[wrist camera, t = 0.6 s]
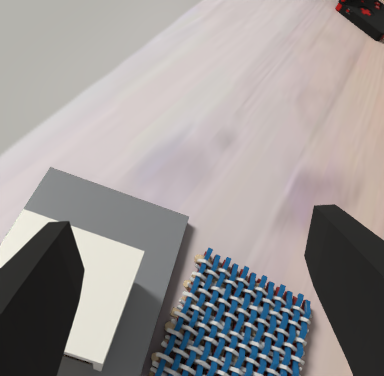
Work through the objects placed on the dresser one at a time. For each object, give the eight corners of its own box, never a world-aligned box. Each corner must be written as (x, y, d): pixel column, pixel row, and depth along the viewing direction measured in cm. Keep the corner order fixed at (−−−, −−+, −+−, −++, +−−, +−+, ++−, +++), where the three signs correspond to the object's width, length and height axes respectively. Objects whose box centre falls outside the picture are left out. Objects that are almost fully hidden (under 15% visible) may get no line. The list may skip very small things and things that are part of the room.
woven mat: (136, 385, 22) (139, 384, 21) (196, 251, 28) (202, 242, 27) (277, 458, 22) (292, 463, 21) (308, 307, 28) (321, 302, 27)
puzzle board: (101, 493, 19) (102, 498, 18) (-111, 429, 18) (-120, 430, 17) (186, 221, 29) (189, 216, 28) (51, 173, 28) (50, 167, 28)
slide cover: (101, 371, 21) (102, 363, 16) (-14, 334, 20) (-46, 315, 16) (135, 279, 24) (144, 251, 19) (37, 245, 24) (23, 208, 19)
